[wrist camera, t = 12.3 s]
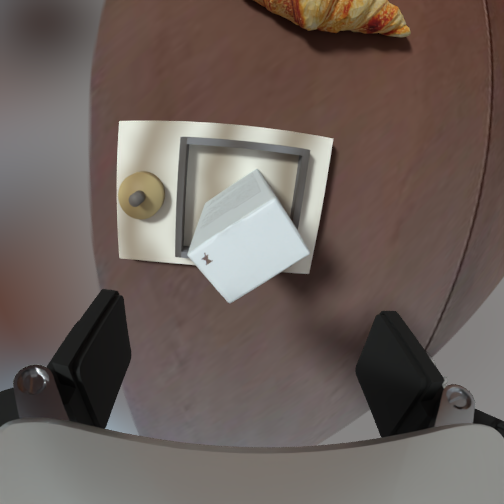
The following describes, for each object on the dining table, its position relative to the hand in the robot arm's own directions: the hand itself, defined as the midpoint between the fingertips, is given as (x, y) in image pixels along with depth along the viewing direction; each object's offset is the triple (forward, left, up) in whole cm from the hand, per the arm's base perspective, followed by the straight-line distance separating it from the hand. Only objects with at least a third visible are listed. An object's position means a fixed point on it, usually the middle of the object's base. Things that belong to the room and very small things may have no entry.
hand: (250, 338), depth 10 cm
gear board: (+2, 0, -21) cm, 21 cm away
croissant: (-5, -23, -22) cm, 32 cm away
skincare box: (0, 0, -19) cm, 19 cm away
